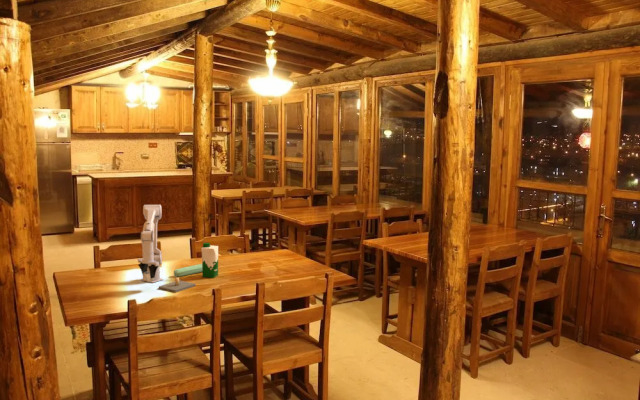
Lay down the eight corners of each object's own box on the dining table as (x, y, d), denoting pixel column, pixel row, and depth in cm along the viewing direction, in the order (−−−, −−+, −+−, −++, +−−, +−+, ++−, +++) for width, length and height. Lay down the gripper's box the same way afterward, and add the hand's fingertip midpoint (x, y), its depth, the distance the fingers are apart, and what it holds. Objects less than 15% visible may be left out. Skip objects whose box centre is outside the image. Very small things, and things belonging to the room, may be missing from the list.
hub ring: (141, 279, 302) (141, 272, 302) (149, 277, 307) (149, 270, 306) (148, 281, 300) (148, 274, 299) (156, 279, 304) (155, 272, 304)
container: (175, 268, 328) (211, 260, 345) (171, 269, 332) (207, 262, 349) (178, 277, 327) (214, 269, 344) (173, 279, 331) (209, 271, 348)
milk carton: (206, 273, 338) (205, 241, 335) (220, 274, 336) (219, 242, 333) (200, 277, 329) (199, 244, 326) (214, 278, 327) (214, 245, 325)
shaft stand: (158, 288, 307) (158, 279, 306) (178, 282, 319) (178, 273, 319) (175, 292, 300) (175, 283, 299) (195, 285, 313) (195, 276, 312)
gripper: (132, 252, 301) (133, 276, 303) (151, 255, 294) (152, 280, 296) (143, 249, 307) (143, 273, 309) (161, 253, 300) (162, 277, 302)
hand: (148, 277), depth 303 cm, fingers closed on hub ring, 5 cm apart
